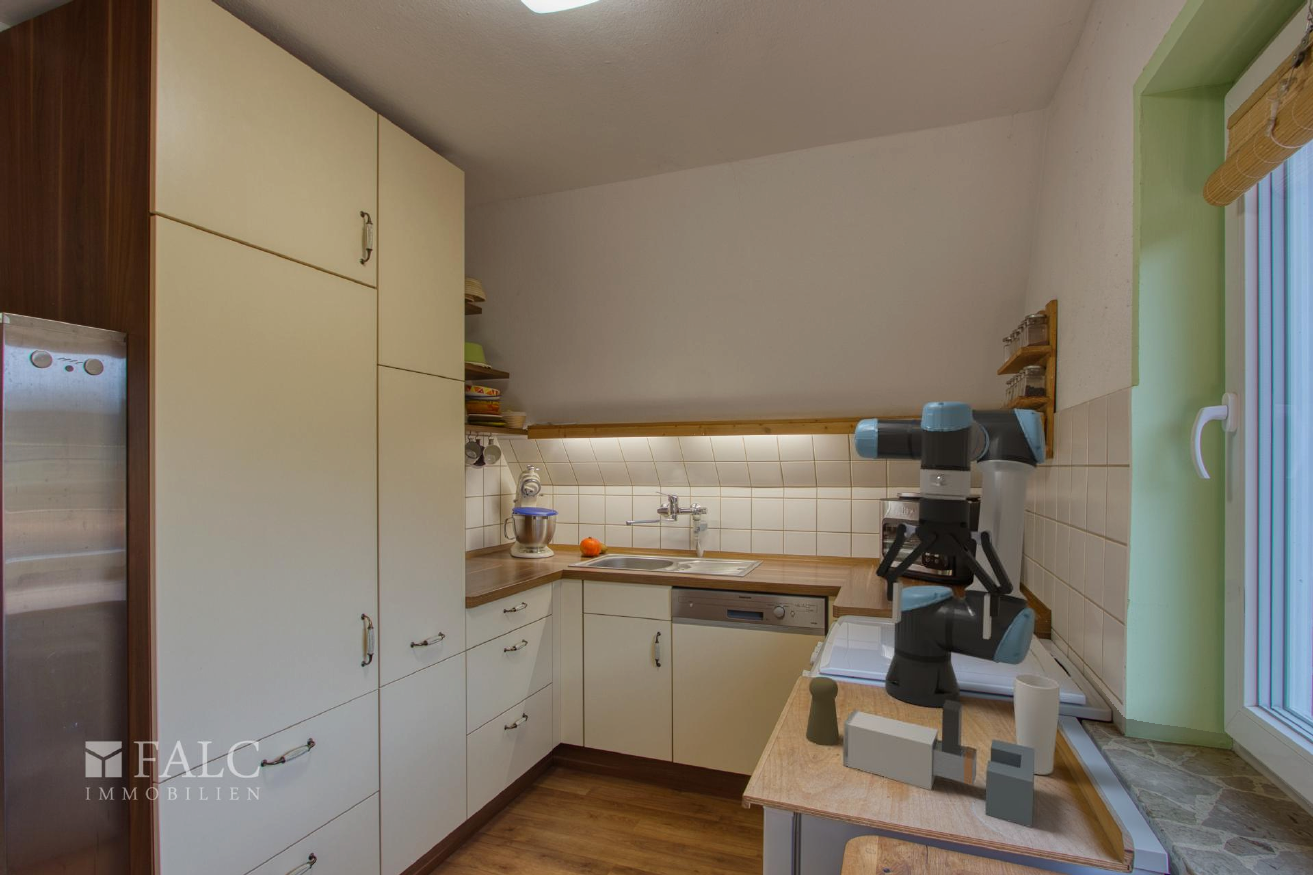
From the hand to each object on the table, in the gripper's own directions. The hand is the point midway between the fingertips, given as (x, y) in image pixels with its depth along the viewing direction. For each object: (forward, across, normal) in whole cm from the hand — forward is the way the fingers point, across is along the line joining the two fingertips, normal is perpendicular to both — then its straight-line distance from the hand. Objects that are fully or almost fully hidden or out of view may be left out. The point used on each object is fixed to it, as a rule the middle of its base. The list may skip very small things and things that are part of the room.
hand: (940, 629), depth 106 cm
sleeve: (+25, -8, +2) cm, 26 cm away
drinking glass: (+25, +13, +17) cm, 33 cm away
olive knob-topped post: (+25, -21, +6) cm, 33 cm away
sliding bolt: (+23, -4, +2) cm, 24 cm away
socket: (+25, +9, +3) cm, 27 cm away
